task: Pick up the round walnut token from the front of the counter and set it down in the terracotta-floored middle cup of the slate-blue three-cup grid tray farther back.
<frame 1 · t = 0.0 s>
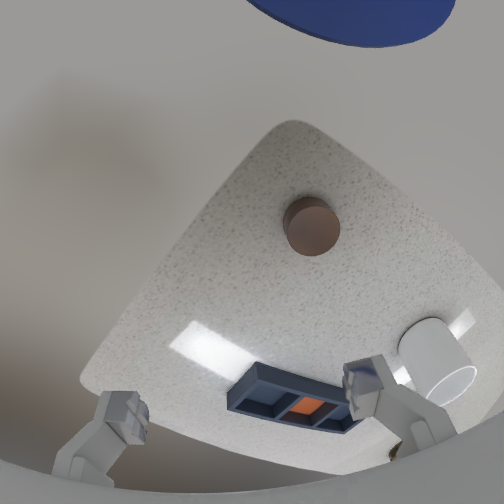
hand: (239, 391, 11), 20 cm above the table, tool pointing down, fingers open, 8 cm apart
mug: (417, 345, 41), on the table
token: (308, 221, 30), on the table
wood slice coaster: (416, 442, 60), on the table
grid: (305, 397, 44), on the table
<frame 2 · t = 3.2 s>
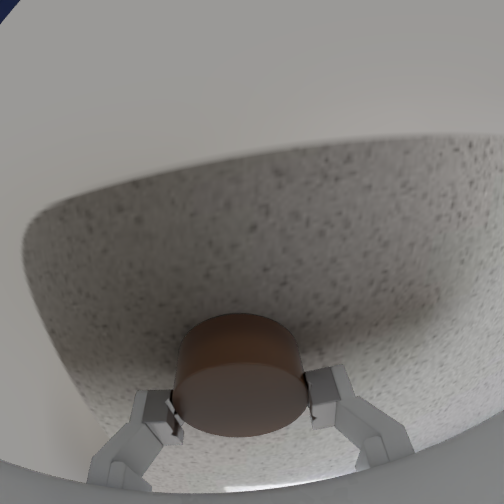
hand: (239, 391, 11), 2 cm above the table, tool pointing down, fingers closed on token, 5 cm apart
token: (238, 359, 13), on the table, touching gripper
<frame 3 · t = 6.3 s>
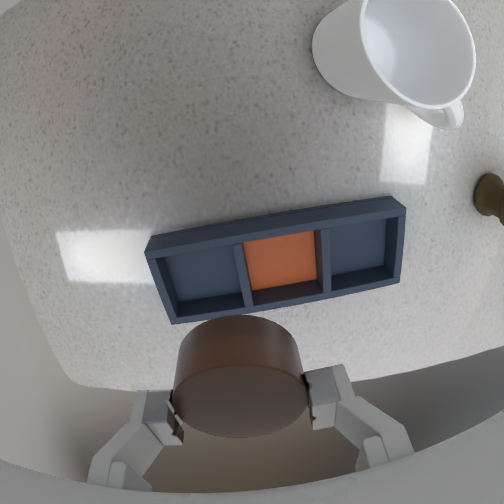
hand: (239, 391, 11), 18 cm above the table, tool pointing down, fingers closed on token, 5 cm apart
mug: (370, 69, 22), on the table
kendama: (485, 192, 28), on the table
token: (238, 359, 13), point 17 cm above the table, touching gripper
grid: (280, 253, 29), on the table
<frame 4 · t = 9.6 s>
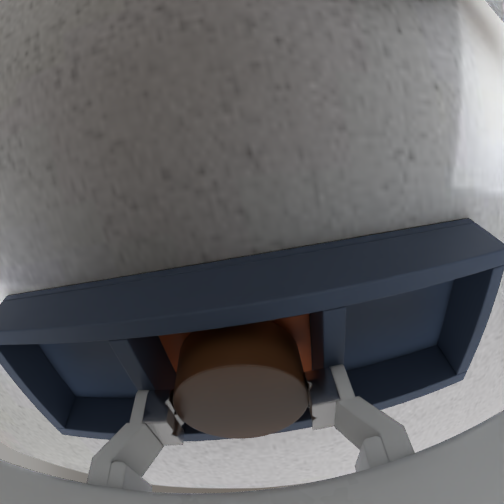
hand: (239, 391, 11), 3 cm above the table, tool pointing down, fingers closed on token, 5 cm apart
token: (239, 360, 13), point 1 cm above the table, touching gripper
grid: (237, 337, 14), on the table
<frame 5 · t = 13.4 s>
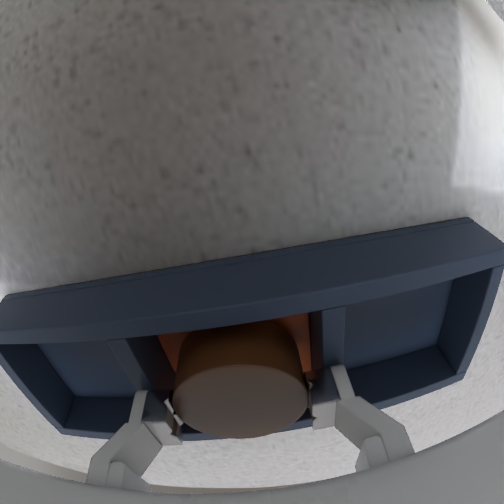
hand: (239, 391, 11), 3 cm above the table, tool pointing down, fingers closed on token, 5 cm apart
token: (238, 360, 13), point 1 cm above the table, touching gripper
grid: (236, 337, 14), on the table
when the fingers open (4 cm above the table, at t = 16.9 s): token drops 1 cm, resting on grid.
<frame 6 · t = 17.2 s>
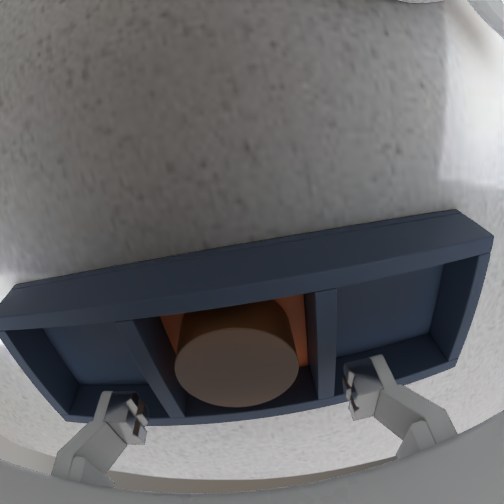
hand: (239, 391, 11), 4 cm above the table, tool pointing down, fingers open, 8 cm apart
token: (235, 332, 14), point 1 cm above the table, touching grid
grid: (235, 322, 15), on the table
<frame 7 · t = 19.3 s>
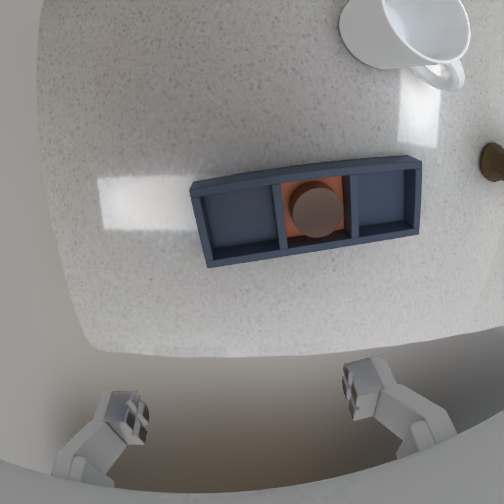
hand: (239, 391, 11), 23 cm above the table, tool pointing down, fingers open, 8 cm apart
mug: (386, 46, 24), on the table
kendama: (489, 160, 30), on the table
token: (312, 204, 31), point 1 cm above the table, touching grid
grid: (311, 202, 32), on the table
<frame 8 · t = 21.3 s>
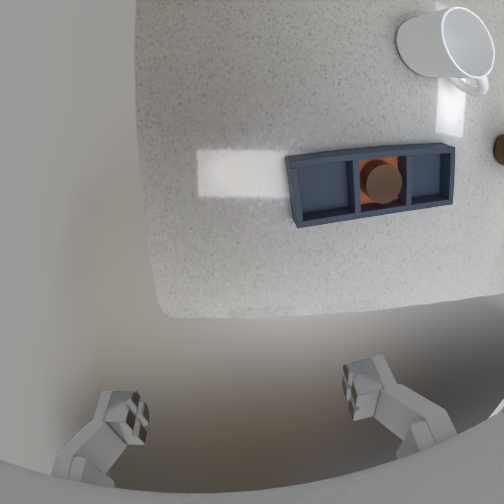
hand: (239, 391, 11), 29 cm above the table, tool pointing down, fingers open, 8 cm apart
mug: (428, 58, 30), on the table
kendama: (500, 148, 36), on the table
token: (376, 178, 37), point 1 cm above the table, touching grid
grid: (374, 177, 37), on the table
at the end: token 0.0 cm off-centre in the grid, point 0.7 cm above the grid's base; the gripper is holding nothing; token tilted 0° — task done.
